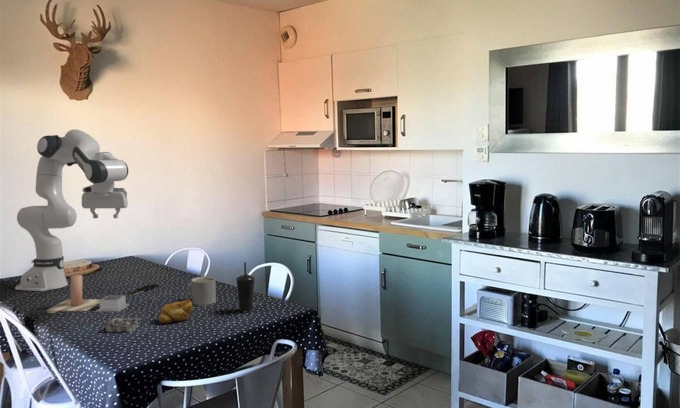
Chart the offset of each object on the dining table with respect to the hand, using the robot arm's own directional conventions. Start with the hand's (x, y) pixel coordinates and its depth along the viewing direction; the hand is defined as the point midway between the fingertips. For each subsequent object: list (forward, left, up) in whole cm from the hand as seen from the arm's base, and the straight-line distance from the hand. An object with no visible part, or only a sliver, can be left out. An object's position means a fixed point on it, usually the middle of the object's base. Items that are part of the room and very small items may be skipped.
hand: (105, 218), depth 253 cm
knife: (+14, -2, -35) cm, 38 cm away
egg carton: (+29, -52, -35) cm, 69 cm away
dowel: (-2, -26, -33) cm, 42 cm away
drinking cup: (+70, -29, -34) cm, 83 cm away
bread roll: (+45, -42, -34) cm, 70 cm away
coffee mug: (+48, -16, -34) cm, 61 cm away
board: (-2, -26, -34) cm, 43 cm away
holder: (+15, -29, -34) cm, 47 cm away
